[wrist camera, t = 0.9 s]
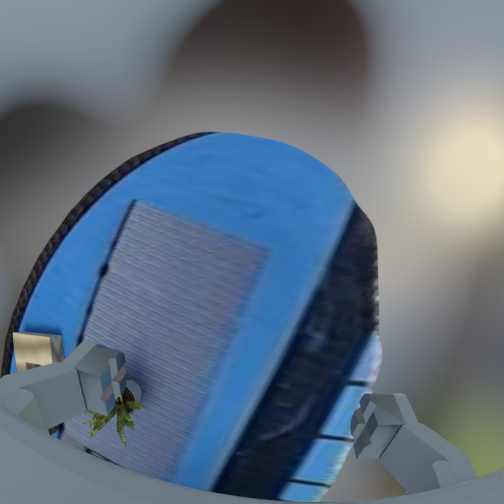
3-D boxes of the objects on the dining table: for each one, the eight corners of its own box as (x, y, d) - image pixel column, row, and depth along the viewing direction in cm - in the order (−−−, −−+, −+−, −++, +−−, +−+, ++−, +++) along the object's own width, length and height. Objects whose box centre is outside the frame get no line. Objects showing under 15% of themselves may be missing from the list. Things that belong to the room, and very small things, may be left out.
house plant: (100, 346, 56) (59, 359, 39) (161, 359, 56) (133, 379, 40) (99, 407, 53) (63, 433, 37) (158, 421, 54) (134, 456, 38)
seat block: (72, 410, 53) (61, 416, 48) (35, 401, 52) (23, 406, 48) (61, 335, 56) (49, 337, 51) (25, 331, 55) (12, 332, 50)
